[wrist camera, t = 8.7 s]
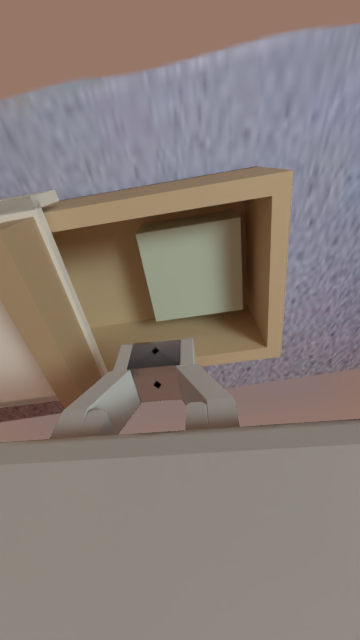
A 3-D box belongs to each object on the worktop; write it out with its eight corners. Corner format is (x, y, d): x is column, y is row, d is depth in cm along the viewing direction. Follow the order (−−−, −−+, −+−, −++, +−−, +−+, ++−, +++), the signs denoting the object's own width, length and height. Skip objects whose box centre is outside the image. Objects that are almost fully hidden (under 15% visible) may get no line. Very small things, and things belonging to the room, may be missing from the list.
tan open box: (256, 166, 19) (293, 170, 13) (255, 309, 25) (280, 356, 19) (19, 207, 20) (-47, 228, 14) (76, 334, 26) (46, 385, 20)
